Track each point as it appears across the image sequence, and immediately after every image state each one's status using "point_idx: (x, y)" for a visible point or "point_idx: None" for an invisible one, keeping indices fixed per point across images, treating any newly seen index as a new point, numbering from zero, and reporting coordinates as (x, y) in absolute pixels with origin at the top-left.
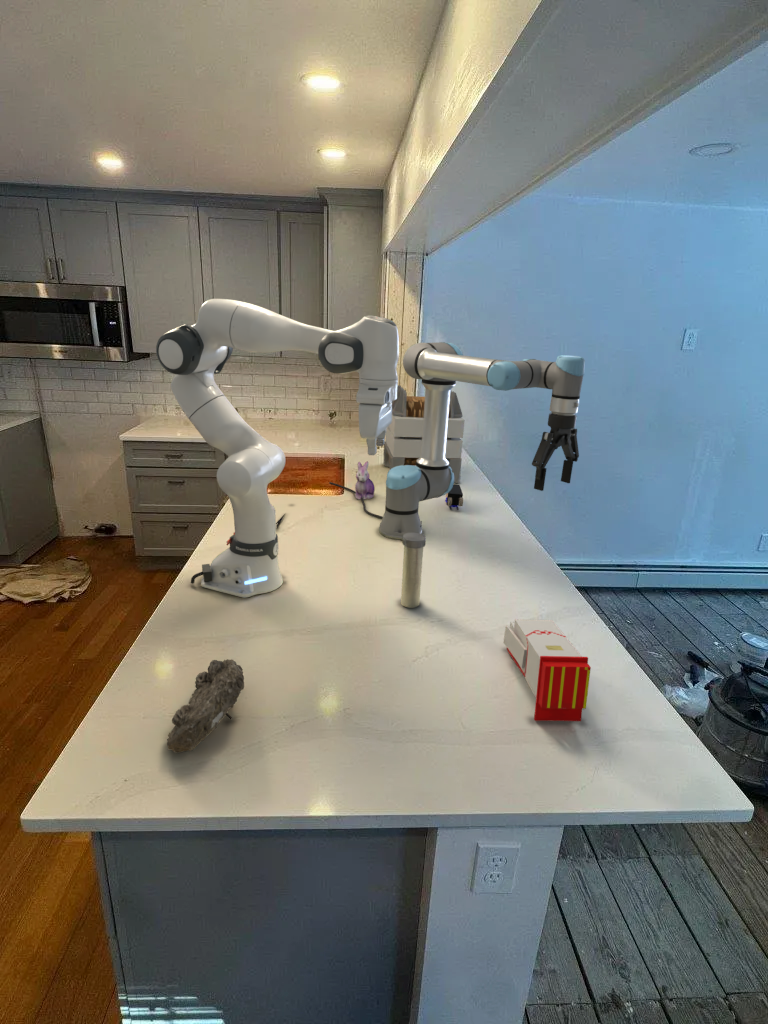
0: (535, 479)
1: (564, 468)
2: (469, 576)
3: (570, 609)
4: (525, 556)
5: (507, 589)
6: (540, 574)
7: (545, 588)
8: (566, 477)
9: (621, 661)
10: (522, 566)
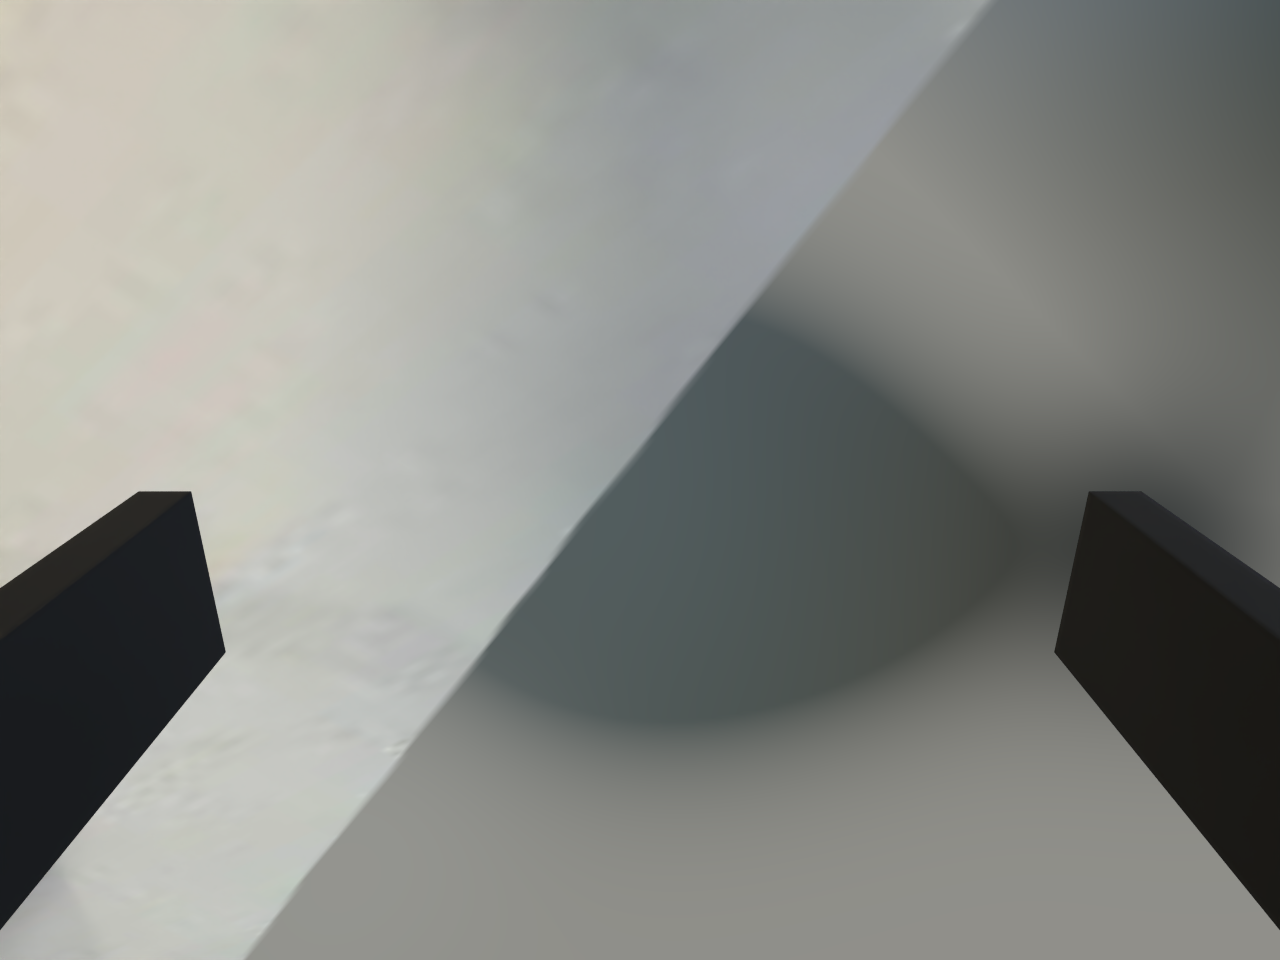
0: (10, 593)
1: (1272, 706)
2: (153, 10)
3: (406, 636)
4: (800, 38)
5: (266, 308)
6: (622, 305)
7: (485, 436)
8: (1120, 657)
9: (251, 920)
10: (625, 146)
